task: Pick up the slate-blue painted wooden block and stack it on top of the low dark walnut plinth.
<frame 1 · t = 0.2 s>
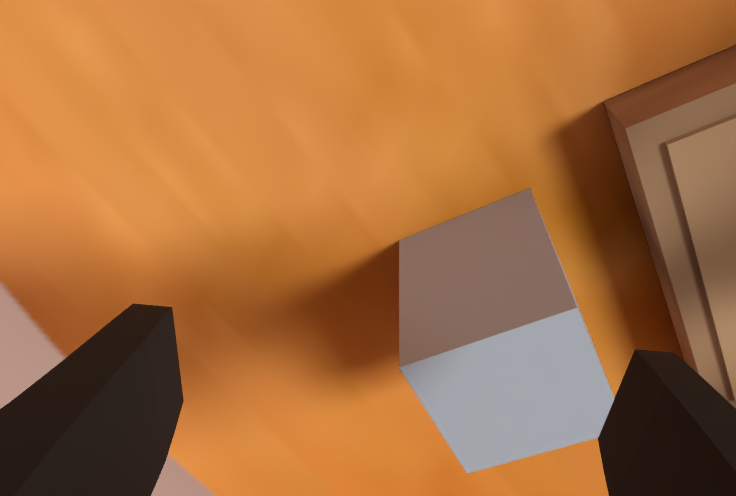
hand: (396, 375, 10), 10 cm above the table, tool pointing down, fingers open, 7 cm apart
block: (487, 266, 21), on the table
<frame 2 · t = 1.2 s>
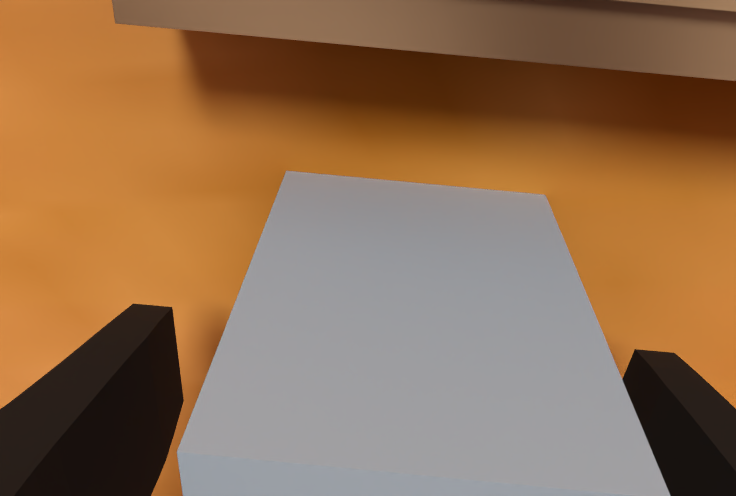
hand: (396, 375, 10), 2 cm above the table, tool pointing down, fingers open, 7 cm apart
block: (401, 286, 12), on the table
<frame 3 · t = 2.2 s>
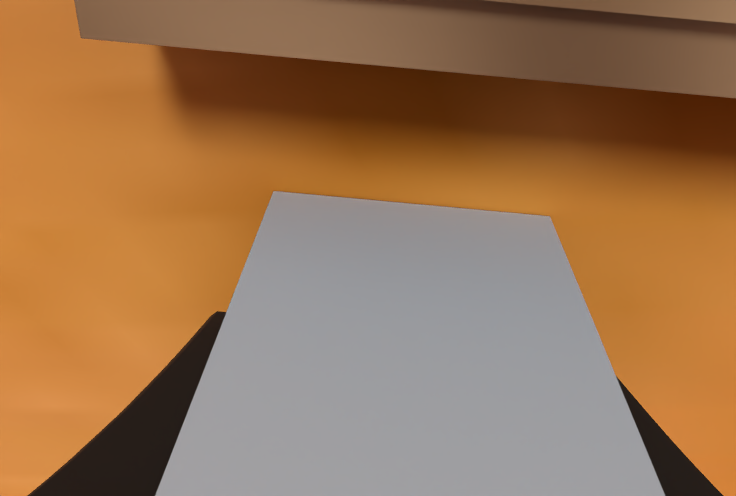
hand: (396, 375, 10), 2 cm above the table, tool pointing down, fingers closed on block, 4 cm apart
block: (397, 312, 11), on the table, touching gripper
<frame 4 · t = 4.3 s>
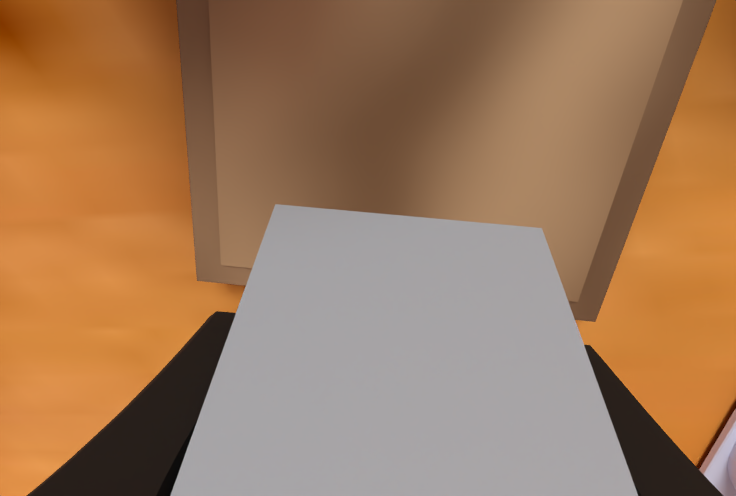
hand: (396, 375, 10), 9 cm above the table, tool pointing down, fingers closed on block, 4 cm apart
block: (395, 318, 11), point 8 cm above the table, touching gripper
plinth: (422, 83, 17), on the table
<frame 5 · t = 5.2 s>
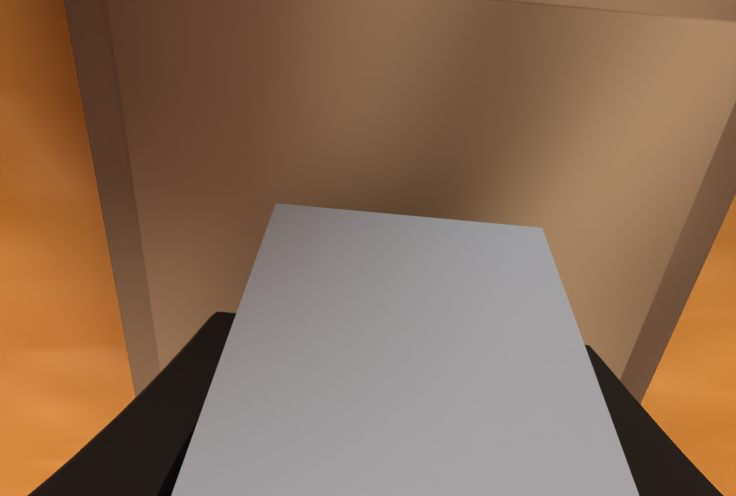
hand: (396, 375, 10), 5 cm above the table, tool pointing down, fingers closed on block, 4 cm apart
block: (395, 318, 11), point 3 cm above the table, touching gripper
plinth: (399, 215, 14), on the table
when the fingers open (4 cm above the table, at t = 6.2 s): block stays where it is, resting on plinth.
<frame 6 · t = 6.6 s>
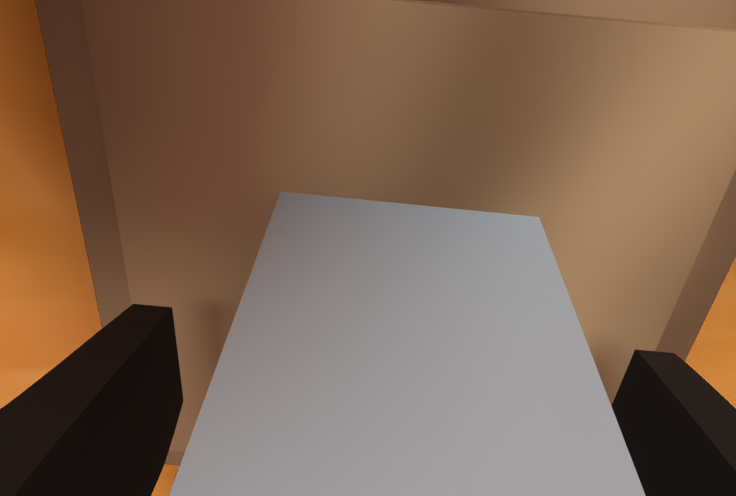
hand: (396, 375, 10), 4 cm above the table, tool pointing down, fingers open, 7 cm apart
block: (395, 306, 12), point 2 cm above the table, touching plinth
plinth: (398, 233, 13), on the table
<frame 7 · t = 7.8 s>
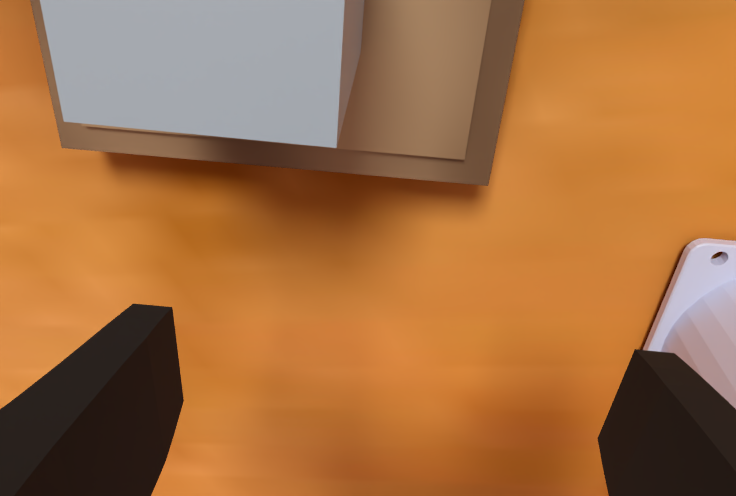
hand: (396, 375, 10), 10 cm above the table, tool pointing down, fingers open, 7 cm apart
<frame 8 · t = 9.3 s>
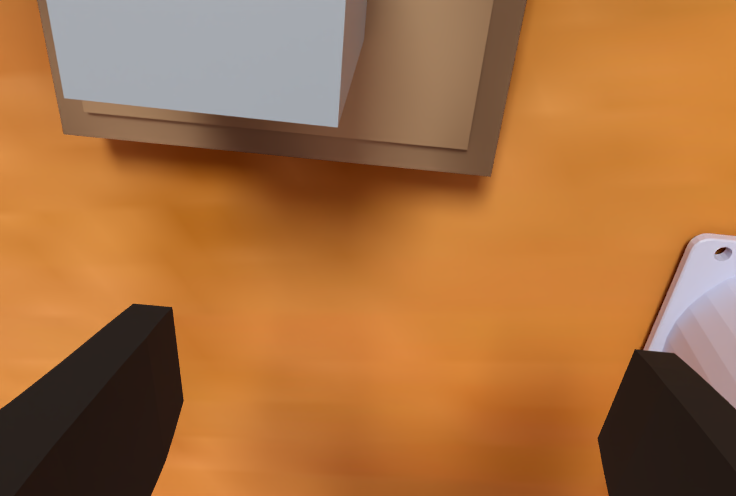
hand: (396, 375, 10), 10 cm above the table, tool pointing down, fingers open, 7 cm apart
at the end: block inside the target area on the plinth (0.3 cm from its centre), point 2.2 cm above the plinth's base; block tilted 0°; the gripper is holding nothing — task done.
